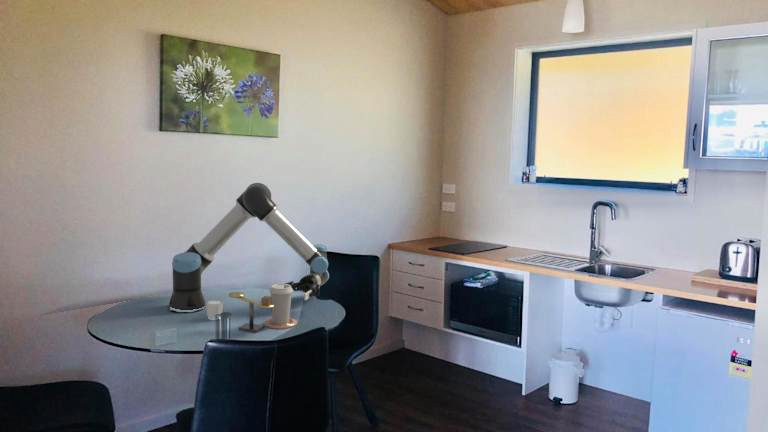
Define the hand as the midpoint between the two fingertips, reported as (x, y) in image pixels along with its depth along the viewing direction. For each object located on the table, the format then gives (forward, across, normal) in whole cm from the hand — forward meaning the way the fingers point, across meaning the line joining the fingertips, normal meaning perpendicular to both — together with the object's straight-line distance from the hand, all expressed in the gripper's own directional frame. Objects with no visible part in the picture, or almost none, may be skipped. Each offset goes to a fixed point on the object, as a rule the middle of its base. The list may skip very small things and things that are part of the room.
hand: (289, 295), depth 259 cm
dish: (+8, 0, -10) cm, 13 cm away
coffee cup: (+8, 0, -9) cm, 12 cm away
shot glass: (+12, +28, -10) cm, 32 cm away
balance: (+18, +8, -10) cm, 22 cm away
